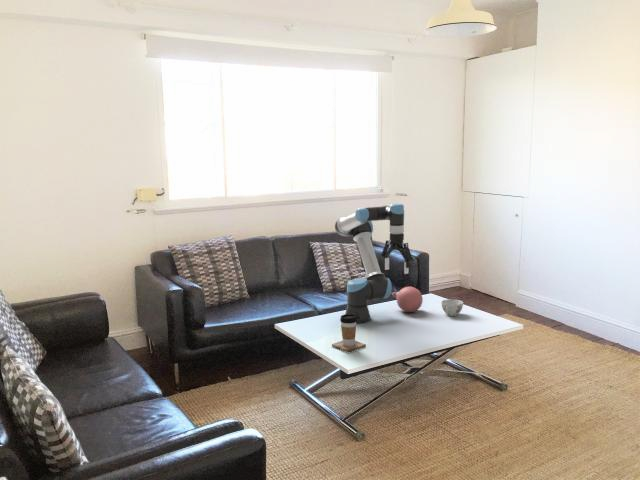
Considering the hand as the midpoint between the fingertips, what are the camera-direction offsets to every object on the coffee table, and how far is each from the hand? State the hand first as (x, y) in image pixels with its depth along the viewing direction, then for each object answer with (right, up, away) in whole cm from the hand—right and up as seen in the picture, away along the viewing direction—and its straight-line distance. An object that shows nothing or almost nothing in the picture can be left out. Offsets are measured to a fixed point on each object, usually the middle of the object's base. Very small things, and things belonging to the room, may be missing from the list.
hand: (396, 271), depth 292 cm
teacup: (+36, -27, +24) cm, 51 cm away
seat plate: (-27, -37, -21) cm, 50 cm away
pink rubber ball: (+11, -26, +34) cm, 44 cm away
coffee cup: (-27, -36, -22) cm, 50 cm away
